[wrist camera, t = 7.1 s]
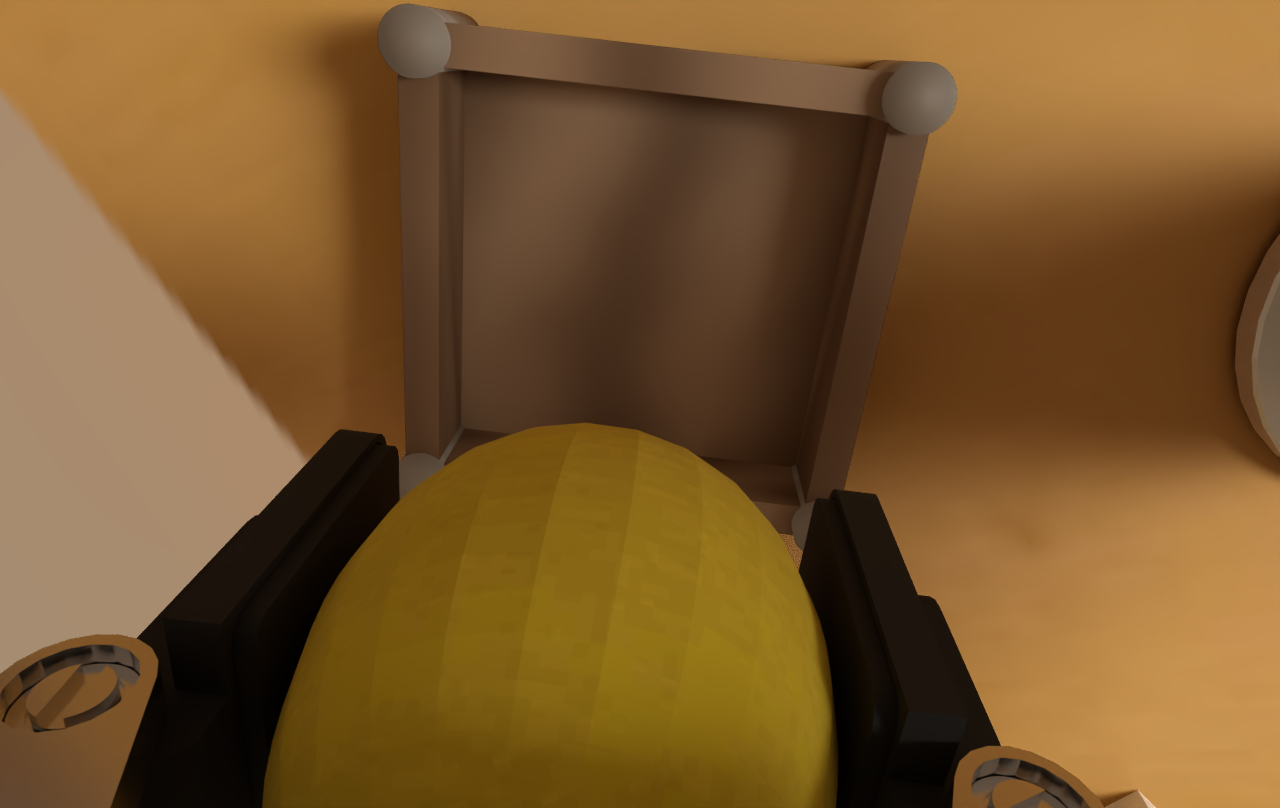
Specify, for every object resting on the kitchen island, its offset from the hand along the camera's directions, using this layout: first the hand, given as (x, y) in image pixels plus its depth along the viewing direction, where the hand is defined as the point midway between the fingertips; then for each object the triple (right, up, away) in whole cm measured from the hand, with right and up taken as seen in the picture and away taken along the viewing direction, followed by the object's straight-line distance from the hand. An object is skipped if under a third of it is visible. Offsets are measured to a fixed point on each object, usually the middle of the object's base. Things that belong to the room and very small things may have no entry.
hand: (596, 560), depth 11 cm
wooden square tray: (+1, +6, +14) cm, 15 cm away
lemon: (0, +1, +2) cm, 2 cm away
